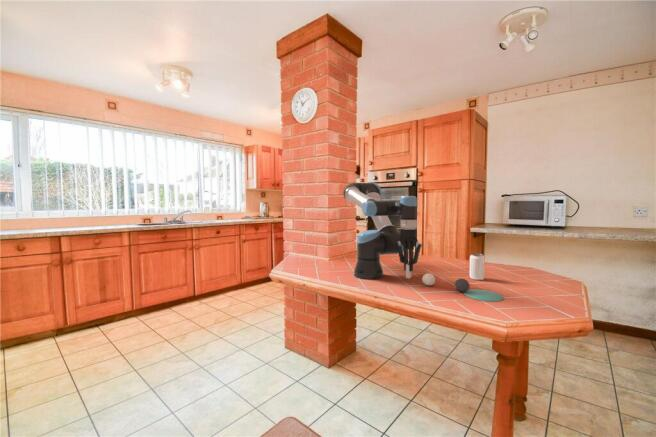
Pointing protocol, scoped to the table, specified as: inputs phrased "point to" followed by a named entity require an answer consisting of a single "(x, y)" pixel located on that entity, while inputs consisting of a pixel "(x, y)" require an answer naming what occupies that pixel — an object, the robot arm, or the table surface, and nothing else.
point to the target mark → (484, 295)
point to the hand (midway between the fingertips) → (408, 277)
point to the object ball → (462, 285)
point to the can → (477, 266)
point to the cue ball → (428, 279)
